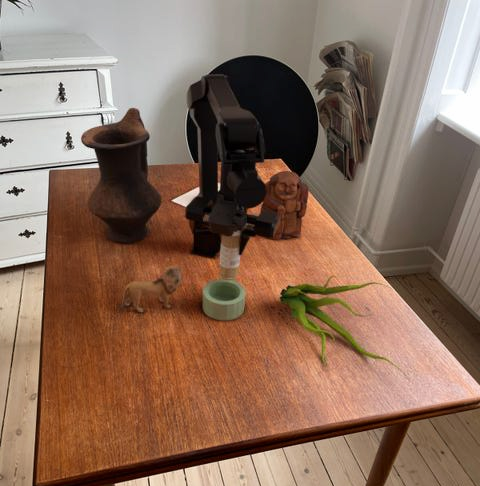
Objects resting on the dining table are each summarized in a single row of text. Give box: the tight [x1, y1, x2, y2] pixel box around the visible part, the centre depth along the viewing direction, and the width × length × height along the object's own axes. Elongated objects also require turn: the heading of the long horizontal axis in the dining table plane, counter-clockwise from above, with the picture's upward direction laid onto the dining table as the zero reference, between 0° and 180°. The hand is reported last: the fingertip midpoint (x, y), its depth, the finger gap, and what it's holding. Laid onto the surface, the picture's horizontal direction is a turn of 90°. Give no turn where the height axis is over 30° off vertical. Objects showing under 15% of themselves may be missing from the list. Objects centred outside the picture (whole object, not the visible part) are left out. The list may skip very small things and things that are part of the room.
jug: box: [80, 107, 163, 244], centre depth 125 cm, size 21×18×30 cm
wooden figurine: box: [259, 170, 310, 241], centre depth 133 cm, size 12×6×18 cm, turn 101°
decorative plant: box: [279, 275, 410, 380], centre depth 101 cm, size 18×30×15 cm, turn 13°
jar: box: [201, 278, 247, 321], centre depth 111 cm, size 9×9×4 cm
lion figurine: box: [117, 264, 183, 313], centre depth 108 cm, size 15×5×9 cm, turn 116°
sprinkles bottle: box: [217, 231, 242, 281], centre depth 106 cm, size 5×5×14 cm
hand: (230, 251), depth 106 cm, fingers closed on sprinkles bottle, 4 cm apart
